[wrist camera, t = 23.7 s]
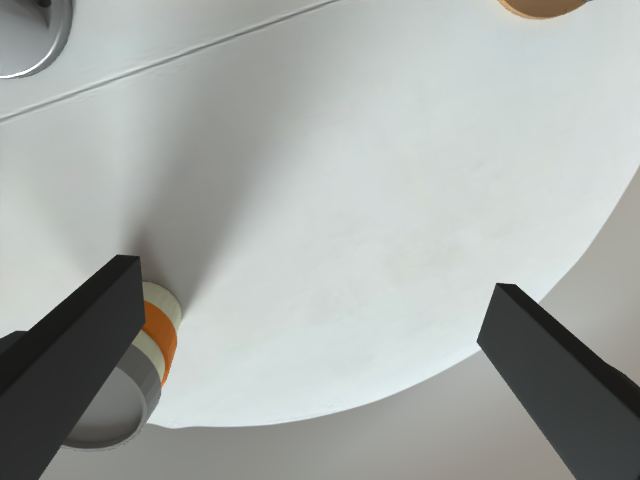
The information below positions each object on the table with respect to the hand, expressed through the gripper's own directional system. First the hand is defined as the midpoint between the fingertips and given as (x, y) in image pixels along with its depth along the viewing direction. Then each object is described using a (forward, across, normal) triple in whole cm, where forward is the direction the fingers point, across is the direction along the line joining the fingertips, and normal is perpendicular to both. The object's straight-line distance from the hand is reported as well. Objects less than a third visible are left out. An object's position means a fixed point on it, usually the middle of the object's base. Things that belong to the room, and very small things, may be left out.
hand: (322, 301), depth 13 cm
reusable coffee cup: (+29, -19, -21) cm, 40 cm away
